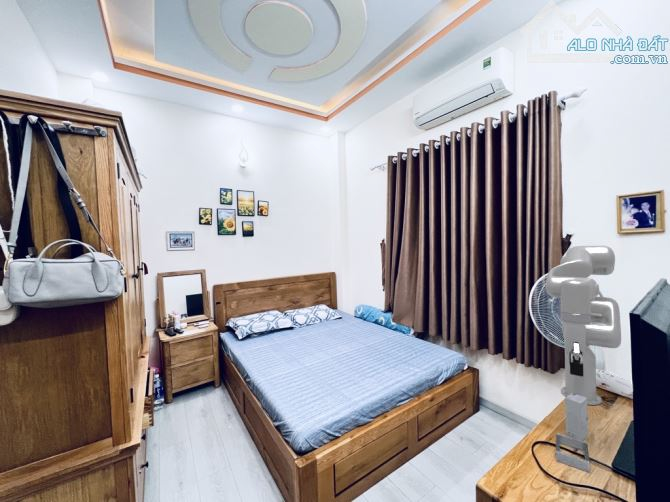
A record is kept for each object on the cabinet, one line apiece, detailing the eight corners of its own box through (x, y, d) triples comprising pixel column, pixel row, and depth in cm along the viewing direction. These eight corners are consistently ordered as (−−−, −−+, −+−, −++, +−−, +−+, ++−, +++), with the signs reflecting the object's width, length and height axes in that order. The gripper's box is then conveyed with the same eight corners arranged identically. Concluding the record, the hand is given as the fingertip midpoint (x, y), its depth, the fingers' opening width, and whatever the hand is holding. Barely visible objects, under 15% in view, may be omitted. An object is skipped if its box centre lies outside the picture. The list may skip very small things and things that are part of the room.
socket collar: (556, 440, 91) (556, 432, 91) (587, 450, 87) (587, 442, 86) (555, 460, 83) (555, 451, 83) (589, 472, 78) (589, 463, 78)
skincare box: (582, 441, 90) (581, 403, 90) (564, 434, 94) (564, 397, 94) (589, 434, 94) (588, 397, 94) (572, 427, 97) (571, 392, 97)
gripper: (560, 311, 102) (561, 358, 103) (560, 321, 89) (561, 376, 89) (588, 314, 98) (589, 363, 98) (593, 325, 84) (593, 383, 84)
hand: (576, 369), depth 93 cm, fingers open, 9 cm apart
